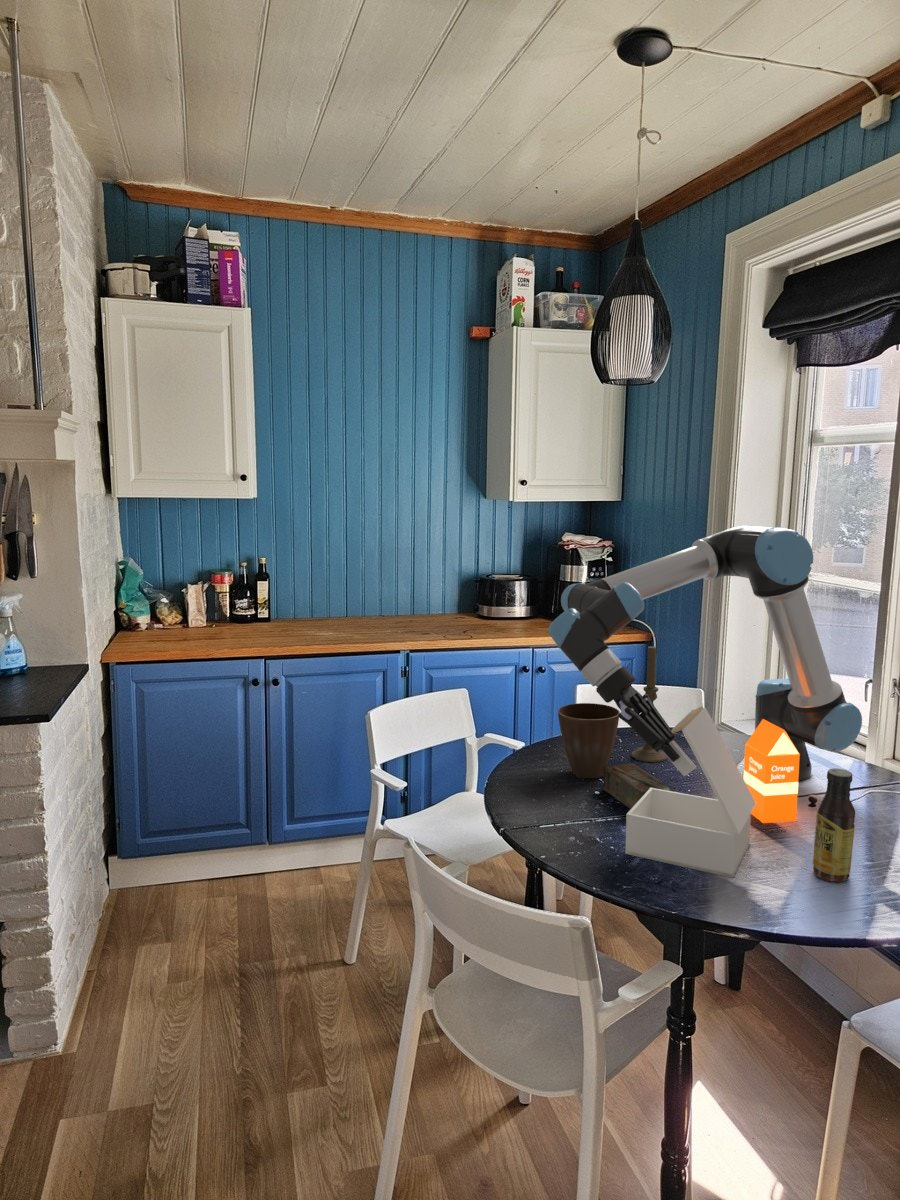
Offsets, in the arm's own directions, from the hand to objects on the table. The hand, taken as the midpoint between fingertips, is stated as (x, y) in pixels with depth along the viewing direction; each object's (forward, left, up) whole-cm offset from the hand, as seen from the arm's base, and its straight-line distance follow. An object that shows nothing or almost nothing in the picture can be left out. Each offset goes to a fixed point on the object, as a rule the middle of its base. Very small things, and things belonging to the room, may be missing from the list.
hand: (690, 771), depth 156 cm
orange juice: (-25, -14, -16) cm, 33 cm away
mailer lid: (-3, +1, +1) cm, 3 cm away
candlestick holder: (-15, -54, -16) cm, 58 cm away
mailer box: (0, -1, -16) cm, 16 cm away
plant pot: (+5, -45, -16) cm, 48 cm away
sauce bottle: (-21, +15, -16) cm, 30 cm away
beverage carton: (0, -25, -16) cm, 30 cm away
